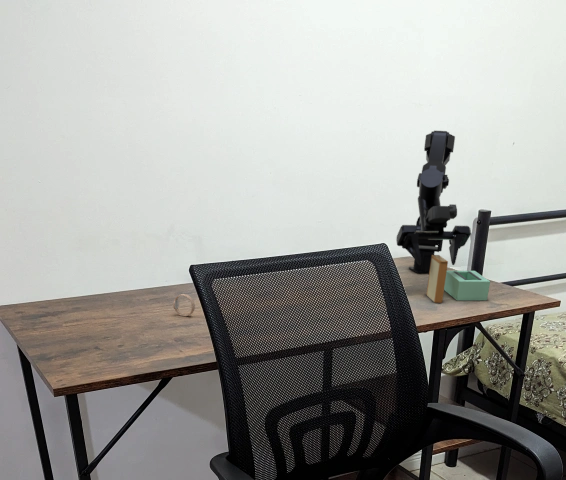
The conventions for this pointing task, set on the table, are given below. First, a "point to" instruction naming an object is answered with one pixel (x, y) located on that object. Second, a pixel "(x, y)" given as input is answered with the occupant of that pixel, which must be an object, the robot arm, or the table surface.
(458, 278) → the toaster
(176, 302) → the beige ring
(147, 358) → the table surface
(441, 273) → the toast
